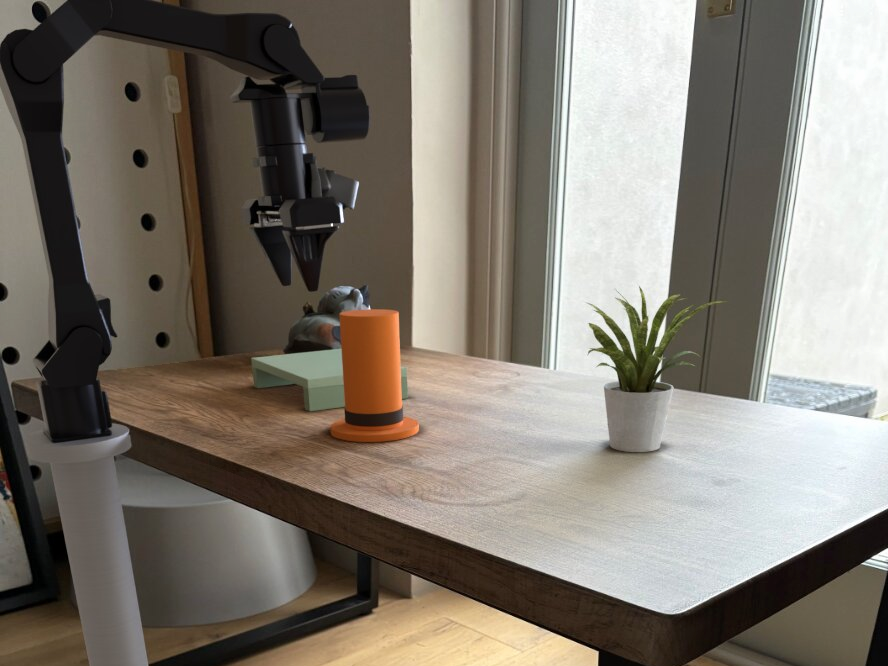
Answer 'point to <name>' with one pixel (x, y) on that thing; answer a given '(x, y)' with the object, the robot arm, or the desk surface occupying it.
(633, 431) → the house plant
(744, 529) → the desk surface
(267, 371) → the shelf
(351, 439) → the hat
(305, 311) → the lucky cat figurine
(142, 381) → the desk surface
